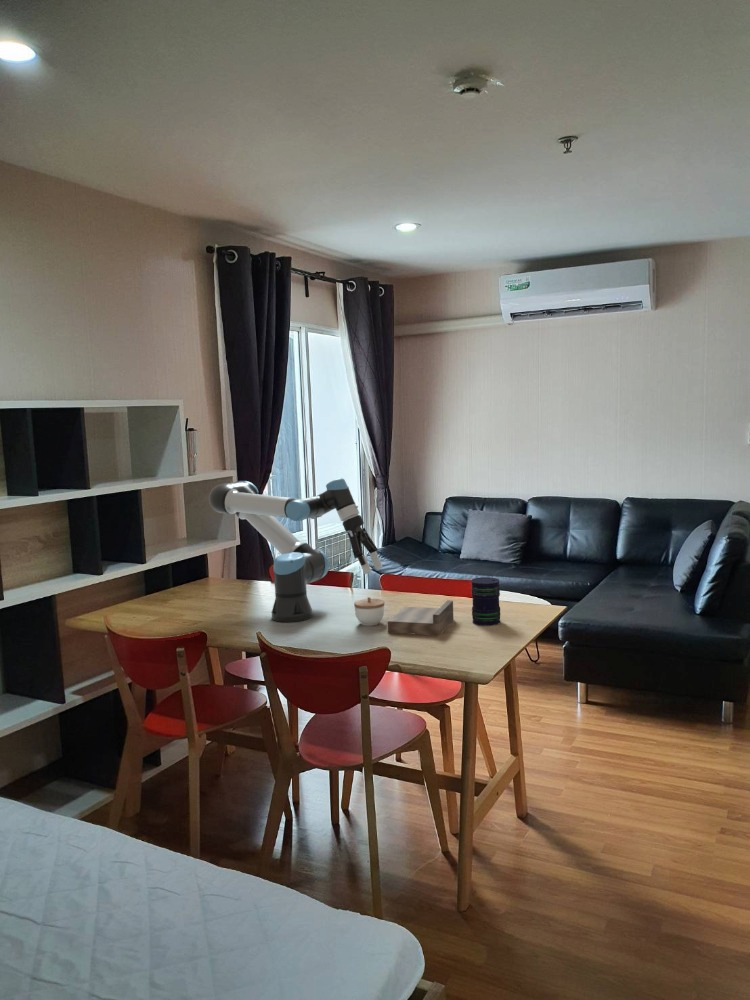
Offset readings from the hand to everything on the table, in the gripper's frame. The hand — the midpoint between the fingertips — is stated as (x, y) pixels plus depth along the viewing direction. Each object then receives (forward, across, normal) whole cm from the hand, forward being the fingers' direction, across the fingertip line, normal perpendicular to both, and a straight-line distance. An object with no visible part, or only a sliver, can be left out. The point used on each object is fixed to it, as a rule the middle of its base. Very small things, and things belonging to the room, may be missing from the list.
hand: (374, 570), depth 284 cm
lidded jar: (+17, -11, +6) cm, 21 cm away
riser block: (+24, -11, -12) cm, 29 cm away
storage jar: (+33, -3, -31) cm, 45 cm away
